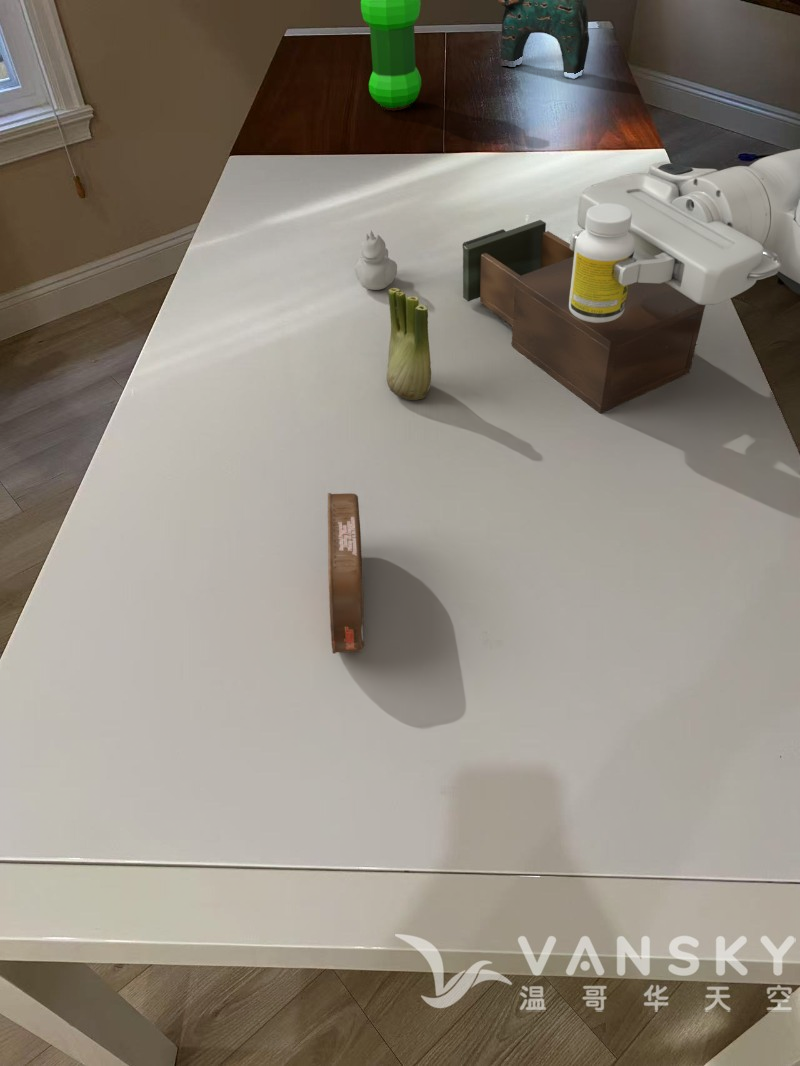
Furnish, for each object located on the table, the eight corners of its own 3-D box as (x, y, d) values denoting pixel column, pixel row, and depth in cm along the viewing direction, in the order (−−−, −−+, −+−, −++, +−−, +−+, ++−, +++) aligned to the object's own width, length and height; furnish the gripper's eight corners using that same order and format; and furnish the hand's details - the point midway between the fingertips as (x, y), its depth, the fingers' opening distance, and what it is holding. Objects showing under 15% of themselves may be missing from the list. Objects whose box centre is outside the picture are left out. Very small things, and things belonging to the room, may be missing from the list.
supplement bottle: (629, 323, 79) (645, 224, 72) (572, 326, 79) (582, 227, 72) (619, 294, 83) (633, 197, 76) (565, 296, 83) (574, 200, 76)
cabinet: (511, 346, 97) (514, 277, 91) (596, 312, 102) (604, 244, 95) (600, 413, 88) (610, 342, 81) (689, 373, 92) (706, 302, 85)
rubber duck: (350, 294, 108) (344, 236, 102) (366, 270, 112) (360, 212, 106) (390, 298, 106) (386, 239, 101) (404, 274, 111) (401, 216, 105)
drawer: (444, 283, 106) (443, 232, 102) (517, 257, 110) (519, 207, 105) (533, 350, 95) (537, 296, 90) (611, 319, 99) (619, 265, 94)
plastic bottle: (426, 96, 159) (421, -62, 141) (419, 116, 151) (413, -47, 134) (374, 96, 160) (364, -60, 142) (365, 116, 153) (352, -46, 135)
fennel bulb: (437, 403, 90) (434, 305, 82) (393, 411, 90) (386, 313, 81) (425, 374, 94) (422, 277, 86) (383, 381, 94) (375, 284, 85)
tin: (331, 540, 77) (320, 472, 71) (365, 537, 77) (356, 469, 71) (333, 675, 66) (320, 608, 60) (372, 672, 66) (363, 605, 60)
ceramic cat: (490, 66, 169) (492, -52, 155) (508, 57, 172) (512, -59, 158) (574, 83, 159) (585, -41, 145) (591, 73, 163) (604, -49, 148)
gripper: (782, 297, 76) (661, 341, 72) (642, 215, 89) (533, 248, 85) (802, 232, 72) (674, 275, 68) (651, 155, 85) (537, 187, 81)
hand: (594, 259), depth 77 cm, fingers closed on supplement bottle, 5 cm apart
